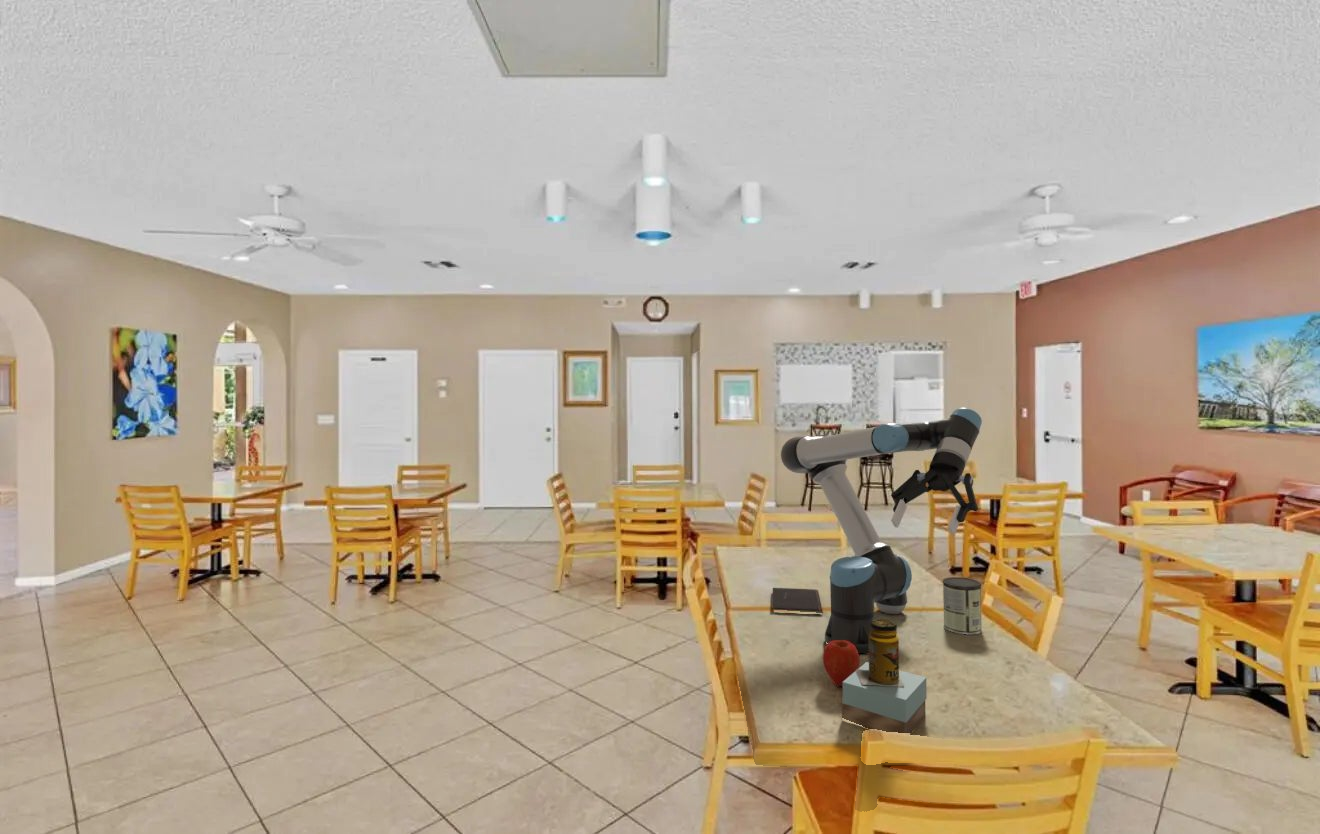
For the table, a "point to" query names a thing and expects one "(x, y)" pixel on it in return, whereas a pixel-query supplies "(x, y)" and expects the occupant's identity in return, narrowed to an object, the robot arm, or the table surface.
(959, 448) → the robot arm
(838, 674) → the apple
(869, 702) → the tower top
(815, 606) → the hardcover book
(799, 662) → the table surface
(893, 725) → the tower base
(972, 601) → the coffee can
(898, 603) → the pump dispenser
